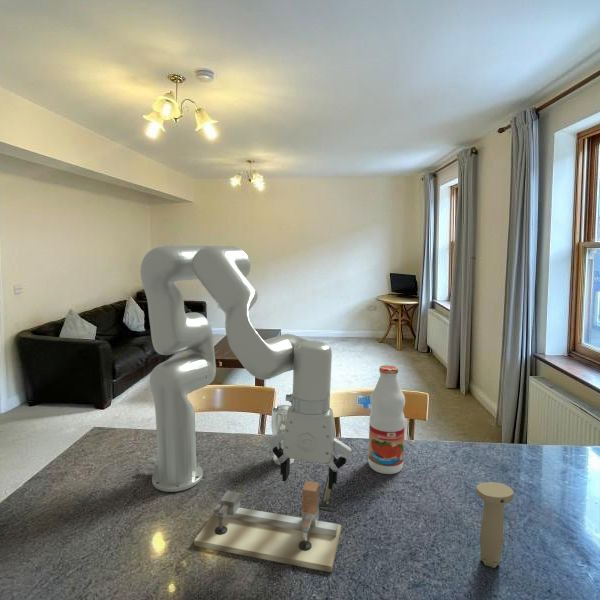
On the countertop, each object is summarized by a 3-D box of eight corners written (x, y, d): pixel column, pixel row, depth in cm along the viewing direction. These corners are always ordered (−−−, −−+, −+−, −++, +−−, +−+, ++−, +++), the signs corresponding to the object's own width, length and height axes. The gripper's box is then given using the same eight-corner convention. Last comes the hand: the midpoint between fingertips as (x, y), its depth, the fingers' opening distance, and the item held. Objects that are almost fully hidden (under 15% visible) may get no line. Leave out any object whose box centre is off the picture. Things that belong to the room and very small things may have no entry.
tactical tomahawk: (342, 518, 94) (343, 514, 94) (314, 511, 95) (314, 507, 95) (353, 468, 114) (353, 465, 114) (329, 463, 116) (329, 460, 115)
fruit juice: (399, 457, 119) (403, 362, 115) (406, 475, 110) (410, 373, 106) (366, 456, 119) (368, 362, 116) (370, 474, 110) (373, 372, 106)
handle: (467, 554, 82) (472, 483, 80) (498, 551, 82) (503, 481, 80) (480, 573, 77) (485, 498, 75) (513, 570, 78) (519, 496, 76)
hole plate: (194, 545, 84) (193, 519, 83) (219, 509, 95) (219, 486, 95) (331, 572, 77) (332, 544, 76) (341, 530, 89) (341, 505, 88)
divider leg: (297, 543, 82) (297, 500, 81) (306, 520, 89) (306, 480, 88) (311, 546, 81) (311, 502, 80) (318, 522, 88) (319, 482, 87)
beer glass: (299, 456, 120) (299, 406, 118) (291, 468, 113) (291, 415, 111) (277, 452, 122) (277, 403, 120) (267, 463, 115) (267, 412, 113)
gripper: (264, 404, 82) (262, 484, 84) (351, 416, 78) (347, 500, 80) (275, 391, 89) (273, 465, 92) (356, 401, 85) (352, 478, 87)
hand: (308, 481), depth 86 cm, fingers open, 9 cm apart
